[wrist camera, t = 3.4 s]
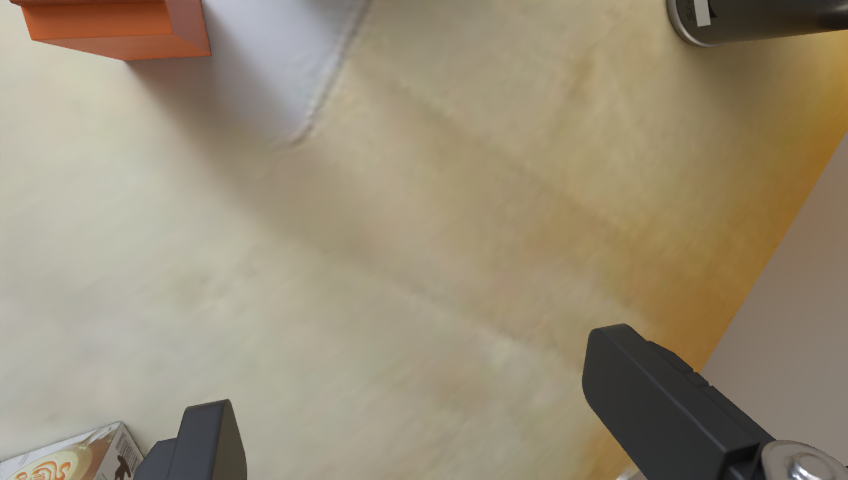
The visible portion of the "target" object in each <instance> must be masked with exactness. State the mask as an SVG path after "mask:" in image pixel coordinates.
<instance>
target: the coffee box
mask: <svg viewBox="0 0 848 480" xmlns="http://www.w3.org/2000/svg"><path fill="white" fill-rule="evenodd" d="M143 459H144V458H143V456H142V454H141V453H140V451H139V449H138V448H137V446H136V444H135V443H134V441H133V439H132V438H131V436H130V434H129V433H128V431H127V429H126V427H125V426H124V424H123V423H122V422H117V423H114V424H111V425H108V426H105V427H102V428H99V429H96V430H93V431H90V432H87V433H84V434H81V435H79V436H76V437H73V438H70V439H67V440H64V441H61V442H58V443H55V444H52V445H49V446H46V447H43V448H40V449H38V450H35V451H32V452H29V453H26V454H23V455H20V456H17V457H14V458H11V459H9V460H6V461H3V462H0V480H133V477H134V474H135V471H136V469H137V467H138V466H139V464H140V463H141V462H142V461H143Z"/></svg>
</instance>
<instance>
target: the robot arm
mask: <svg viewBox="0 0 848 480" xmlns="http://www.w3.org/2000/svg"><path fill="white" fill-rule="evenodd" d="M667 7H668V12H669V16H670V19H671V22H672V24H673V26H674V28H675V30H676V31H677V33H678V34H679V35H680V36H681V38H682V39H684V40H685V41H686V42H688V43H689V44H691V45H694V46H697V47H714V46H720V45H724V44H729V43H737V42H745V41H756V40H764V39H772V38H781V37H789V36H797V35H805V34H814V33H822V32H830V31H839V30H847V29H848V0H667ZM582 388H583V392H584V395H585V398H586V400H587V402H588V404H589V405H590V407H591V408H592V409H593V411H594V412H595V413H596V415H597V416H598V417H599V418H600V420H601V421H602V422H603V423H604V425H605V426H606V427H607V429H608V430H609V431H610V432H611V434H612V435H613V436H614V437H615V439H616V440H617V441H618V443H619V444H620V445H621V446H622V448H623V449H624V450H625V451H626V453H627V454H628V455H629V457H630V458H631V459H632V460H633V462H634V463H635V464H636V465H637V467H638V468H639V469H640V471H641V472H642V473H643V474H644V476H645V477H646V478H647V479H648V480H848V466H844V465H843V464H842V463H840V462H839V461H838V460H836V459H835V458H833V457H832V456H830V455H828V454H826V453H825V452H823V451H821V450H819V449H817V448H815V447H812V446H809V445H807V444H803V443H800V442H795V441H790V440H776V439H774V438H773V437H772V436H771V435H769V434H768V433H767V432H766V431H765V430H764V429H762V428H761V427H760V426H759V425H758V424H757V423H756V422H754V421H753V420H752V419H751V418H750V417H749V416H747V415H746V414H745V413H744V412H743V411H741V410H740V409H739V408H738V407H737V406H736V405H735V404H733V403H732V402H731V401H730V400H729V399H727V398H726V397H725V396H724V395H723V394H722V393H720V392H719V391H718V390H717V389H716V388H715V387H713V386H709V384H708V381H706V380H705V379H704V378H703V377H702V376H701V375H699V374H698V373H697V372H695V373H694V372H693V369H692V368H691V367H690V366H689V365H688V364H687V363H685V362H684V361H683V360H682V359H681V358H679V357H678V356H677V355H676V354H675V353H673V352H671V351H669V350H667V349H666V348H664V347H662V346H660V345H658V344H656V343H654V342H652V341H646V340H645V339H644V338H643V337H642V336H640V335H639V334H638V333H637V332H636V331H635V330H634V329H633V328H631V327H630V326H629V325H627V324H617V325H612V326H607V327H601V328H596V329H593V330H592V331H591V332H590V334H589V338H588V344H587V351H586V357H585V363H584V369H583V376H582ZM133 480H247V464H246V457H245V452H244V448H243V444H242V441H241V437H240V433H239V430H238V426H237V422H236V419H235V415H234V411H233V408H232V404H231V402H230V400H229V399H225V400H220V401H215V402H210V403H205V404H200V405H194V406H189V407H187V408H186V409H185V411H184V414H183V418H182V421H181V425H180V429H179V432H178V436H177V438H172V439H167V440H163V441H158V442H157V443H156V444H155V445H154V447H153V448H152V449H151V450H150V452H149V453H148V454H147V456H146V457H145V458H144V459H143V461H142V462H141V463H140V464H139V466H138V467H137V469H136V471H135V474H134V477H133Z"/></svg>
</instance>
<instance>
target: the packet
mask: <svg viewBox="0 0 848 480" xmlns="http://www.w3.org/2000/svg"><path fill="white" fill-rule="evenodd" d="M9 1H10V2H11V3H13V4H16V5H19V6H21V8H22V12H23V15H24V18H25V21H26V24H27V27H28V30H29V33H30V37H31V39H32V40H34V41H38V42H43V43H47V44H52V45H56V46H60V47H65V48H69V49H74V50H78V51H83V52H87V53H92V54H96V55H101V56H105V57H110V58H114V59H119V60H141V59H160V58H178V57H196V56H211V50H210V46H209V41H208V36H207V31H206V26H205V21H204V16H203V12H202V7H201V2H200V0H9Z"/></svg>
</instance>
